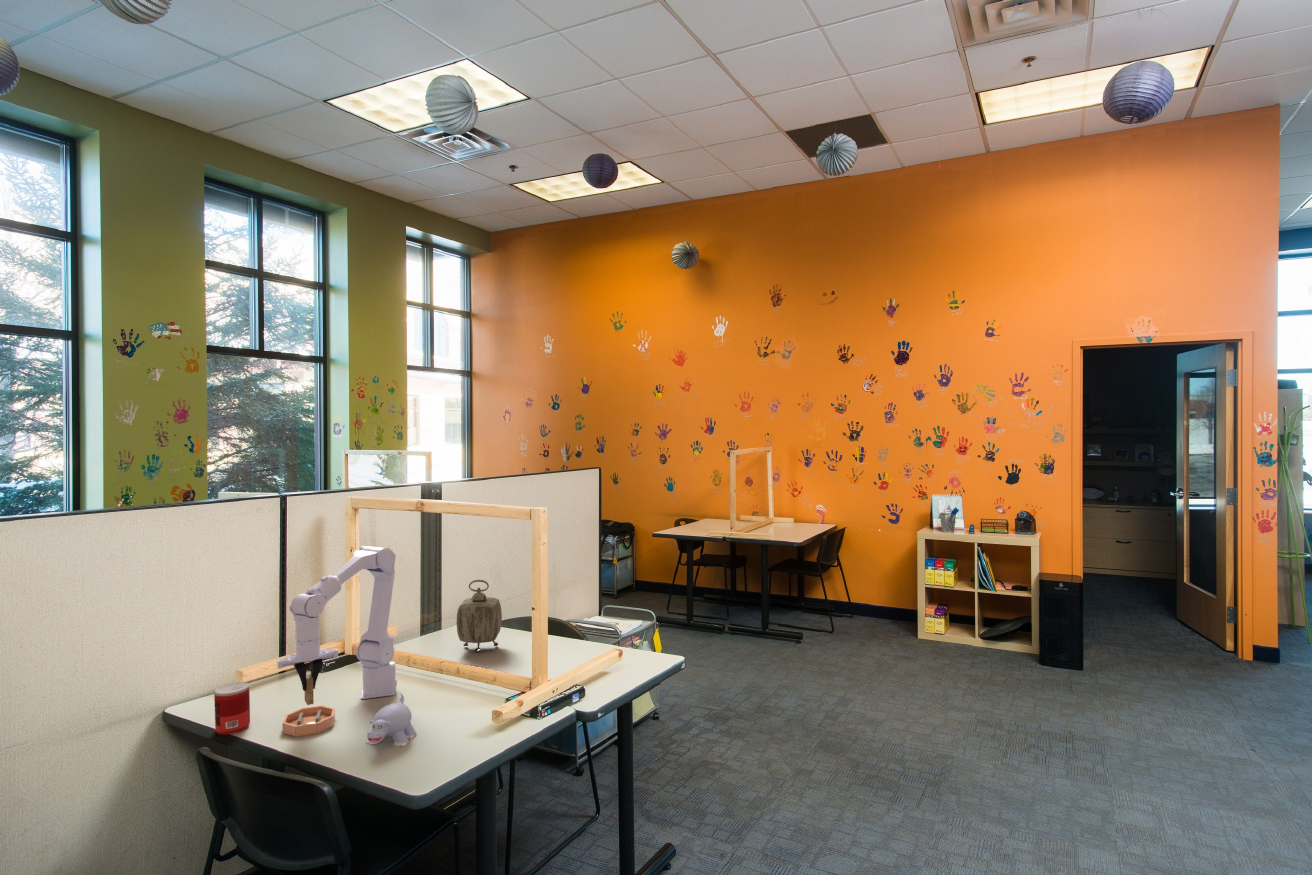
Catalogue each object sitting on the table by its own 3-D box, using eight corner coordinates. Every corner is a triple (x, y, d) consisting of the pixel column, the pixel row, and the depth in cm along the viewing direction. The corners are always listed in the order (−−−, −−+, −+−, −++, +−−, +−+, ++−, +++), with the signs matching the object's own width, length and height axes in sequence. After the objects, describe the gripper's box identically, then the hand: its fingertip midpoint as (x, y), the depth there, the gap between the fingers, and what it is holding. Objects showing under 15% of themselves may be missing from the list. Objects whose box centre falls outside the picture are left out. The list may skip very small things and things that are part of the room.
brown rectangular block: (310, 698, 188) (310, 673, 188) (313, 703, 185) (313, 677, 185) (304, 700, 187) (304, 674, 187) (307, 705, 184) (306, 679, 184)
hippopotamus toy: (352, 754, 170) (351, 716, 170) (384, 727, 185) (384, 692, 185) (393, 757, 169) (392, 719, 169) (422, 729, 184) (422, 694, 183)
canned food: (256, 724, 187) (255, 683, 187) (230, 737, 180) (229, 695, 179) (235, 720, 190) (234, 680, 189) (208, 732, 182) (207, 691, 182)
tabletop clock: (502, 645, 250) (501, 576, 250) (497, 654, 241) (496, 582, 240) (461, 646, 250) (460, 577, 249) (455, 654, 241) (454, 583, 240)
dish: (336, 712, 194) (336, 703, 194) (332, 731, 183) (332, 721, 183) (287, 719, 190) (287, 709, 190) (280, 738, 179) (280, 728, 179)
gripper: (333, 629, 193) (334, 677, 194) (274, 640, 185) (276, 690, 185) (339, 636, 188) (340, 685, 188) (279, 647, 179) (280, 698, 179)
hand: (308, 688), depth 186 cm, fingers closed on brown rectangular block, 1 cm apart
